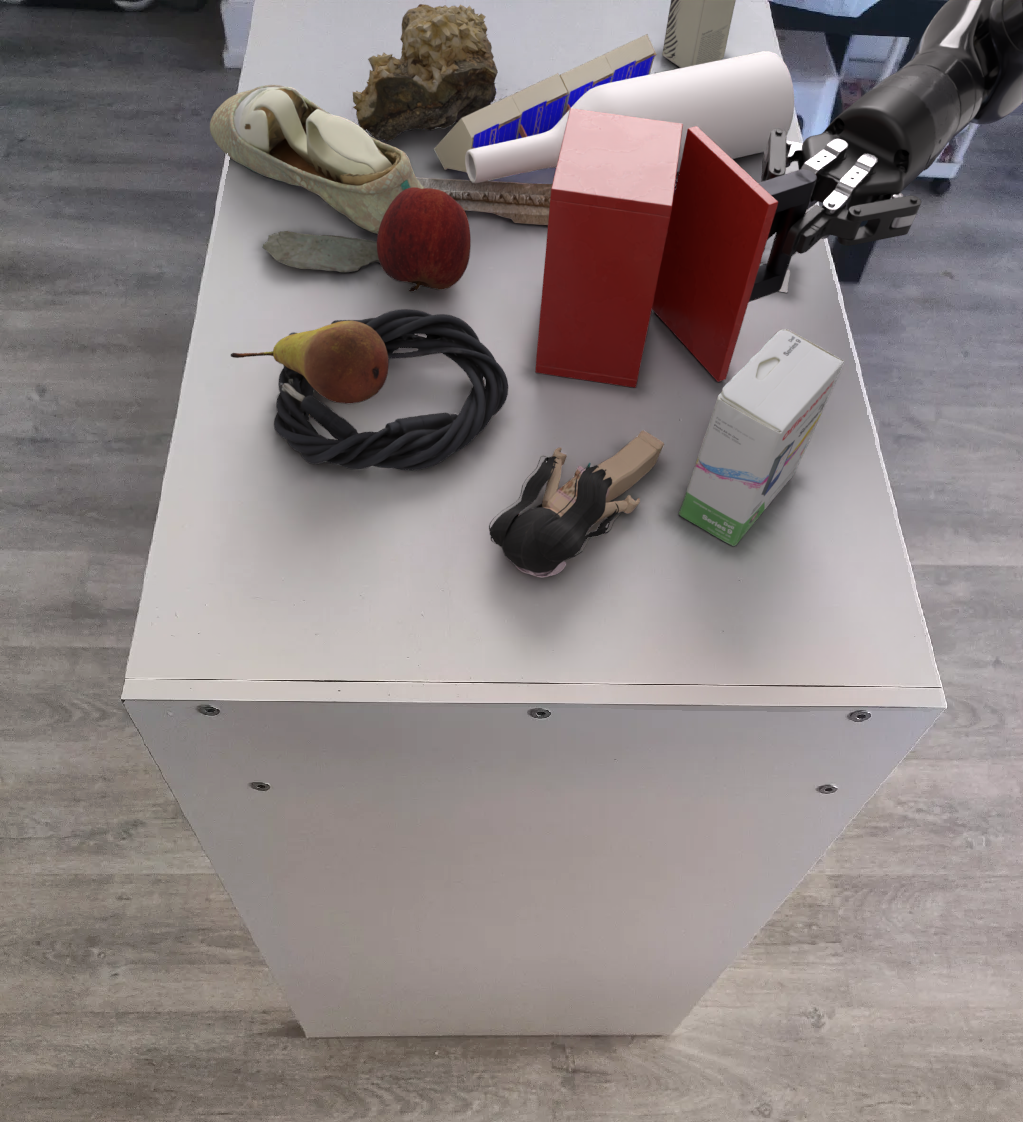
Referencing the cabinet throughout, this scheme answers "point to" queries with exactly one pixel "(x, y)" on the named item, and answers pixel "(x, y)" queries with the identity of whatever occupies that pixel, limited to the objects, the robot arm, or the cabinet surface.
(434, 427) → the cable
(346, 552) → the cabinet surface
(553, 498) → the toy figure
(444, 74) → the mineral specimen
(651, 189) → the cabinet
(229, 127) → the ballet flat
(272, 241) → the stone
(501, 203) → the fossil
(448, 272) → the apple
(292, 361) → the fruit
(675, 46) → the box
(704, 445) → the ink box
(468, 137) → the building
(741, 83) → the bottle
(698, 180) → the door
